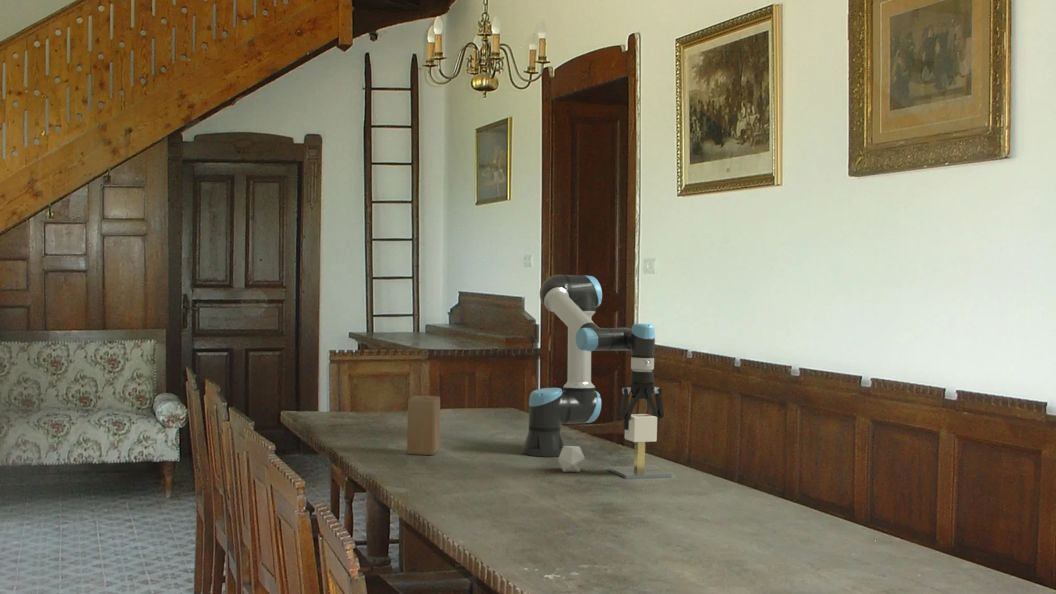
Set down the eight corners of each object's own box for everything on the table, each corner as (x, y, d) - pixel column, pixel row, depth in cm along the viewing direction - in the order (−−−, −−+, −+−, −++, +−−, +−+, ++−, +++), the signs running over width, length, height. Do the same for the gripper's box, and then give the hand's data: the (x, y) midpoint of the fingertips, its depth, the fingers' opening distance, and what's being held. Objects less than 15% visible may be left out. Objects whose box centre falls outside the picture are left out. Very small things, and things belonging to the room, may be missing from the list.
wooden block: (439, 451, 395) (440, 396, 395) (434, 456, 385) (435, 399, 385) (411, 450, 396) (413, 394, 396) (406, 454, 386) (407, 397, 386)
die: (575, 476, 358) (591, 451, 361) (552, 461, 359) (568, 436, 362) (573, 481, 366) (589, 456, 369) (551, 466, 367) (567, 441, 370)
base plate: (626, 478, 353) (627, 446, 353) (607, 469, 368) (608, 438, 368) (671, 477, 358) (672, 445, 358) (651, 468, 373) (652, 437, 373)
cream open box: (634, 442, 358) (634, 416, 357) (624, 438, 365) (625, 413, 365) (656, 441, 360) (657, 416, 360) (646, 438, 368) (647, 413, 368)
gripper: (617, 371, 356) (615, 441, 356) (676, 371, 362) (674, 440, 362) (608, 369, 363) (606, 438, 363) (666, 369, 369) (664, 437, 369)
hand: (640, 439), depth 363 cm, fingers closed on cream open box, 8 cm apart
